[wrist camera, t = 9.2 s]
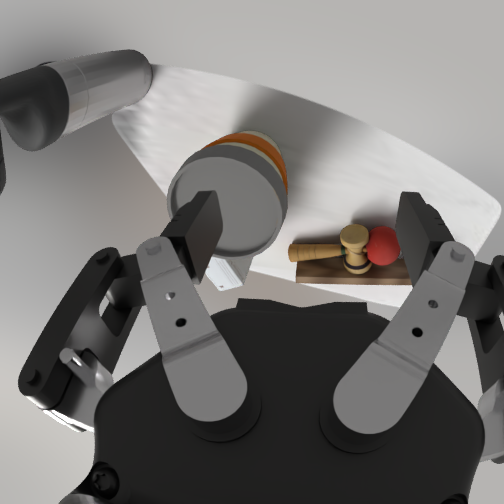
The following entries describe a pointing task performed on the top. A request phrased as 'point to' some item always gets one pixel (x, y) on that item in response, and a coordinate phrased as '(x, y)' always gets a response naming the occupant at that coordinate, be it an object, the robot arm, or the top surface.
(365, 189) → the top surface
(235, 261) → the skincare box
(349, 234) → the kendama
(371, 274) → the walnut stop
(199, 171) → the reusable coffee cup
